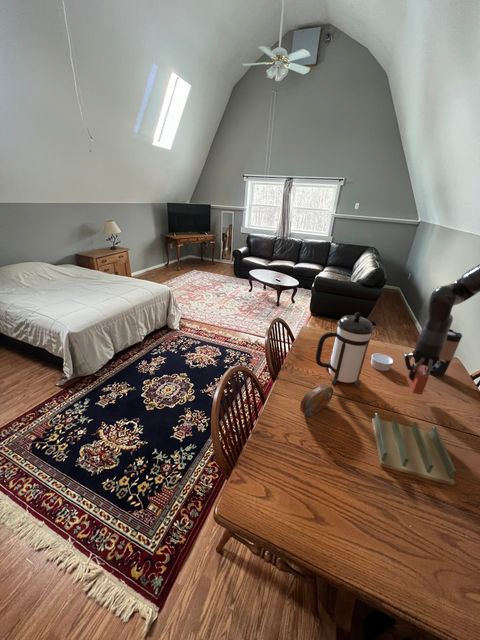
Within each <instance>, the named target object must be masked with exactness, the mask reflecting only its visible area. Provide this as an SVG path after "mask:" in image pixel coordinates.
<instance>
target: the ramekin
mask: <svg viewBox="0 0 480 640" xmlns="http://www.w3.org/2000/svg"><path fill="white" fill-rule="evenodd" d="M393 363H394V359H393V358H392V357H390V356H389V355H387V354H384V353H380V352H378V353H377V352H376V353H373V354H371V360H370V365H371V367H372V368H373V369H376V370H377V371H381V372H387V371H389V370H390V369H391V367H392V365H393Z"/></svg>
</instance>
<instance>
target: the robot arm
mask: <svg viewBox="0 0 480 640" xmlns="http://www.w3.org/2000/svg"><path fill="white" fill-rule="evenodd" d="M478 293H480V263H478V265H476V266H474V267H472V268H471V269H469V270H467V271H466V272H464V273H463V275H461V277H460V278H458V279H456V280H455V281H453V282H451V283H449V284H445V285H441V286H438V287H436V288H435V289H434V290H433V291H432V292H431V294H430V297H429V301H428V310H427V312H428V313H427V316H426V320H425V322H424V324H423V327H422V329H421V331H420V333H419V336H418V339H417V342H416V345H415V348H414V350H413V351H412V352H411V353H407V352H404V353H403V359H404V364H405V367H406V369H407V370H408V371H409V372H408V374H409V378H410V380H413V379H414V376H415V374H416V371H417V369H418V368H419V367H420V366H421V365H423V367H424V369H425V371H426V373H427V374H428V376H429V375H431V374H434V375H435V374H436V373H438V372H439V371H440V370H441V369H442V368H443V367H444V366H446V365H447V363H446V362H445V361H444V359H440V357H439V355H440V354H441V351H442V349H443V346H444V344H445V341H446V339H447V335H448V331H449V329H450V328H451V326H452V324H453V320H454V317H453V315H452V310H453V307H455V306H457V305H459V304H462V303H464V302H466V301H468V300H469V299H471V298H472V297H474V296H476V295H477V294H478ZM412 358H413V361H412V363H413V364H412V363H411V360H412ZM436 362H437V363H436ZM434 363H436V364H435V365H434V366H433V367H432V364H434Z"/></svg>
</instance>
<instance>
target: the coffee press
mask: <svg viewBox="0 0 480 640" xmlns="http://www.w3.org/2000/svg"><path fill="white" fill-rule="evenodd" d="M372 334H375V331H374V327H373V323H372V322H371V321H370V320H369V319H367V318H365V317H364V316H362V314H361V313H360V312H355V313H354V314H349V315H344V316H342V317H341V318H339V320H338V321H337V329H336V332H333V331H328V332H325V333H323V334H322V335H321V336H320V337H319V339H318V342H317V347H316V353H315V361H316V364H317V365H318V366H319V367H321V368H325V370H326V371H327V372H328V373H329V375H330V376H331V377H332V378H333V380H332V381H331V384H332V385H333V386H336V385H337V384H338V382H341V383H345V384H351V383H354V385H355V387H357V388H358V387H360V386H361V381H360V375H361V373H362V368H363V365H364V361H365V359H366V354H367V351H368V349H369V348H368V347H369V344H370V342H371V337H372ZM328 338H334V343H333V348H332V351H331V356H330V360H329V362H322V360H321V357H322V351H323V346H324V343H325V341H326V340H327V339H328Z"/></svg>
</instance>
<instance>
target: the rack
mask: <svg viewBox="0 0 480 640" xmlns="http://www.w3.org/2000/svg"><path fill="white" fill-rule="evenodd" d="M371 423H372V428H373V434H374V435H373V436H374V440H375V444H376V450H377V456H378V461H379V466H380V467H384V468H387V469H390V470H394V471H398V472H401V473H404V474H409V475H411V476H416V477H419V478H423V479H426V480H430V481H434V482H436V483H437V482H438V483H441V484H444V485H449V486H451V487H452V486H454V485H455V484H456V483H455V479H454V477H455V476H456V474H457V469H456V467H455V465H454V463H453V460H452V458H451V457H450V454H449V452H448V450H447V447H446V445H445V443H444V441H443V439H442V437H441V435H440V433H439V430H438V428H437V427H436V426H432V429H431V430H427V429H422V428H420V427H419V425H418V422H416V421H415V422H413V424H412V426H409V425H405V424H401V423H399V422H398V419H397V417H393V418H392V420H391V421H388V420H385V419H384V420H383V419H380V415H379V413H377V412H376V413H375V415H374V417H372V419H371Z"/></svg>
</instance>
